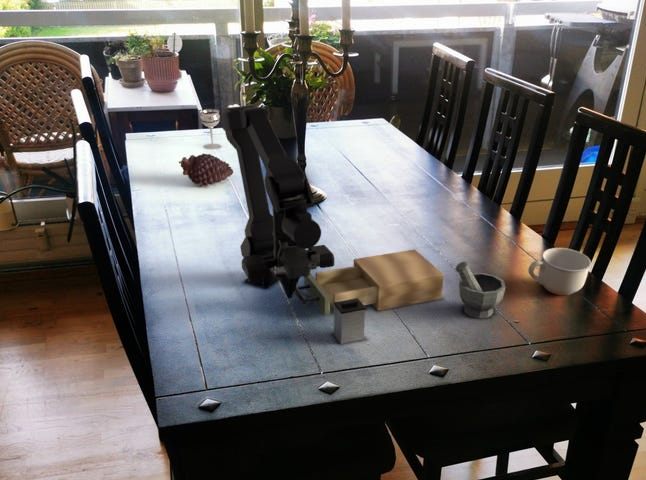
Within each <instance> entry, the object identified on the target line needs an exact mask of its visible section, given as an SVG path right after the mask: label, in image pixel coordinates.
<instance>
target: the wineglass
mask: <svg viewBox="0 0 646 480" xmlns="http://www.w3.org/2000/svg"><path fill="white" fill-rule="evenodd" d="M199 113H200V115H199V120H200V122H201V124H203V125H204V126H205V127H207V128H208V129H209V133H210V141H211V144H207V145H205V148H206V149H211V150H215V149H218V148H220V147H221V146H220V145H219V144H216V143H215V144H214V141H213V140H214V139H213V129H214V127H216V126H217V125H218V124H219V123H220V122H221V115H220V110H219V109H215V108H206V109H202V110H200V111H199Z"/></svg>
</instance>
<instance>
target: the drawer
mask: <svg viewBox="0 0 646 480" xmlns="http://www.w3.org/2000/svg"><path fill="white" fill-rule="evenodd" d="M301 290H304V291H305V292H306V294H307V295H308V296H309V297H308V298H307V297H306V296H305V295H304V293H303V292H302V291H301ZM377 293H378V287H377V286H376V285H375V284H374V283H373V282H372V281H371V280H370V279H369V278H368V277H367V276H366V275H365V274H364V273H363V272H362V270H361V269H360V268H359V267H358V266H353V265H352V266H348V267H347V266H346V267H341V268H336V269H329V270H324V271H323V270H322V271H317V272H315V276H314V275H313V274H312V273H311V272H310V275H309V276H307V277H304V276H303V285H296V288H295V291H294V293H293V295H295V296H296V298H297V299H298V301H299V302H300V303H301V305H302V306H306V305H307V304H308V303H311V302H314V304H315V305H316V307H317V308H318V309H319V310H320V312H321V313H322V314H323V316H330V315H331V308H332V309H333V310H334V302H339V301H344V300H350V299H355V298H358V299H359V300H360V302H361V303H362V304H363V305H364V306H368V305H373V304H374V303H377Z"/></svg>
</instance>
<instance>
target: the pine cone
mask: <svg viewBox="0 0 646 480" xmlns="http://www.w3.org/2000/svg"><path fill="white" fill-rule="evenodd" d="M178 164H180V167H181V168H182V175H183V176H187V178H188V179H189V180H190V181H191V182H192V183H193V184H194V185H196V186H199V187H203V186H204V187H208V186H209V185H211V186H212V185H213V184H216V183H221V182H222V181H225V180H227V179H228V178H230V177H231V176H233V174H234V169H233V168H232V167H231V166H230V163H228V162H226V161H224V160H221V159H220V158H218V157H217V156H214V155H212V154H210V153H208V154H207V153H202V154H198V155H197V156H195V154H191V155H189V157H188V158H187V156H183V157H182V159H181V160H179V161H178Z"/></svg>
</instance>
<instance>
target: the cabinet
mask: <svg viewBox="0 0 646 480" xmlns="http://www.w3.org/2000/svg"><path fill="white" fill-rule="evenodd" d="M353 266H358V267H359V268H360V269H361V270H362V272H363V273H364V274H365V275H366V276H367V277H368V278H369V279H370V280H371V281H372V282H373V283H374V284H375V285H376V286H377V287H378V293H377V303H374V304H372V306H373V307H374V308H375V309H376V310H377V311H378V312H379V311H384V310H389V309H393V308H400V307H406V306H410V305H415V304H421V303H426V302H427V303H428V302H433V301H438V300H442V295H443V285H444V275H445V274H444V273H443V272H442V271H441V270H439V269H438V268H437V267H436V266H435V265H434V264H433V263H431V262H430V261H429V260H428V259H427V258H425V257H424V256H423V255H422V254H421V253H419V251H418V250H416V249H407V250H402V251H395V252H389V253H382V254H377V255H372V256H365V257H358V258H354V259H353V263H352V267H353Z"/></svg>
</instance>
